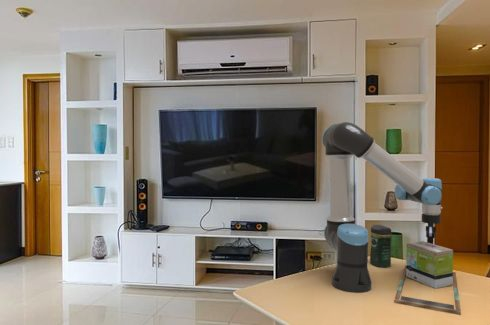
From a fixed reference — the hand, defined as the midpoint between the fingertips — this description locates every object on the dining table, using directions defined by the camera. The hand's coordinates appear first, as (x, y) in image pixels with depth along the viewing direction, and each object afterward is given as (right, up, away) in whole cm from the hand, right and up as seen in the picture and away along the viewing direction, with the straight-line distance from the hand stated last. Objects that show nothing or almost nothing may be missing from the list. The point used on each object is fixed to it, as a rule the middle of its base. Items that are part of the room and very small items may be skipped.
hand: (429, 267), depth 168 cm
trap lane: (-9, -3, -17) cm, 19 cm away
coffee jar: (-17, -3, +13) cm, 22 cm away
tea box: (-5, -3, -10) cm, 12 cm away
